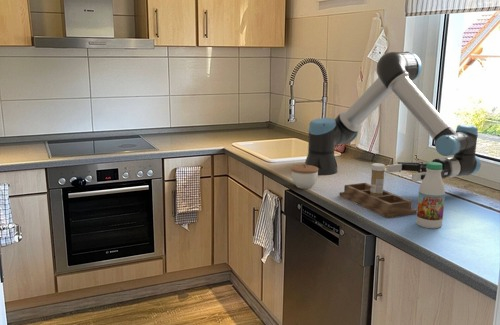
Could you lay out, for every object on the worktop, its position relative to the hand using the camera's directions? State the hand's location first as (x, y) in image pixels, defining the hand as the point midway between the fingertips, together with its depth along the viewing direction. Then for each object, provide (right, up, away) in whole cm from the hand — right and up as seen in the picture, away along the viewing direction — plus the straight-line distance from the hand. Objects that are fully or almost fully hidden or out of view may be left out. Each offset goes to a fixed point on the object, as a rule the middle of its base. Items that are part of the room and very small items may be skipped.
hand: (399, 173), depth 179 cm
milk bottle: (+3, -16, -22) cm, 27 cm away
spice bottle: (-9, -10, -2) cm, 13 cm away
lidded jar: (-32, -6, +21) cm, 39 cm away
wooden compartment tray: (-9, -11, -1) cm, 14 cm away
